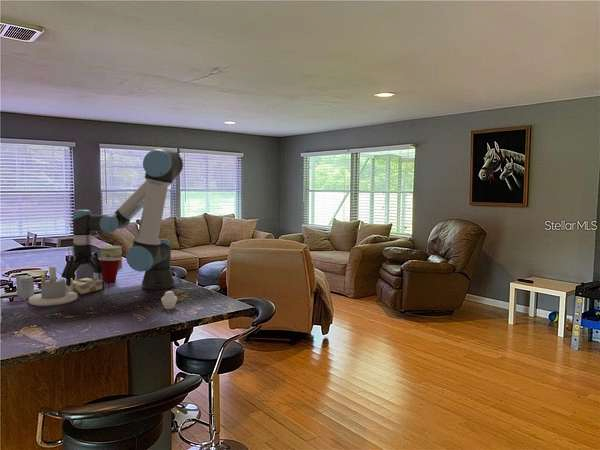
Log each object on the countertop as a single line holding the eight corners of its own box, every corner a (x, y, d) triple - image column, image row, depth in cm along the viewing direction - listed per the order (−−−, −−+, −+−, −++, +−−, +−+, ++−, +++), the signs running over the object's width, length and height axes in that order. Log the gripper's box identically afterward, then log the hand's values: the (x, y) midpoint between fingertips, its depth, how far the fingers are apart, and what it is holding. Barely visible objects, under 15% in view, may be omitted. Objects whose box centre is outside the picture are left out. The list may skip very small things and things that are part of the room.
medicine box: (34, 297, 190) (33, 277, 189) (22, 299, 187) (21, 279, 186) (28, 294, 196) (27, 274, 195) (16, 296, 192) (15, 276, 192)
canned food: (96, 268, 254) (96, 248, 252) (108, 265, 265) (108, 245, 264) (115, 269, 252) (114, 248, 251) (126, 266, 263) (125, 246, 262)
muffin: (178, 305, 182) (177, 288, 181) (176, 309, 176) (176, 292, 175) (162, 306, 181) (162, 289, 180) (160, 310, 175) (159, 292, 174)
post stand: (74, 292, 199) (73, 261, 198) (80, 301, 185) (79, 268, 183) (27, 297, 189) (25, 265, 188) (30, 308, 175) (28, 272, 173)
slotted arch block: (102, 288, 208) (102, 280, 207) (82, 293, 198) (81, 285, 197) (86, 286, 212) (85, 277, 212) (65, 290, 202) (65, 282, 202)
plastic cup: (126, 280, 224) (125, 257, 223) (106, 284, 215) (106, 260, 214) (112, 278, 230) (112, 255, 229) (93, 281, 221) (92, 258, 220)
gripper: (99, 240, 216) (100, 283, 218) (51, 246, 193) (53, 294, 195) (110, 241, 213) (111, 285, 215) (63, 247, 190) (64, 296, 192)
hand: (83, 289), depth 205 cm, fingers open, 13 cm apart
